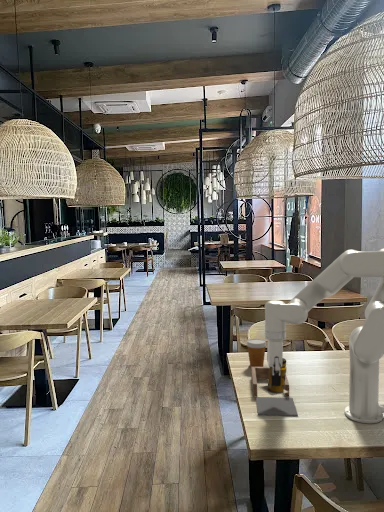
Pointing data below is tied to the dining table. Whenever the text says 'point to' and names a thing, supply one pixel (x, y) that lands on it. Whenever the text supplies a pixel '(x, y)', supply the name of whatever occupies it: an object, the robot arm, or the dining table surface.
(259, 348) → the disposable coffee cup
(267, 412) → the mat
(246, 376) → the dining table surface
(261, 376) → the frame
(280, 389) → the condiment
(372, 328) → the robot arm
